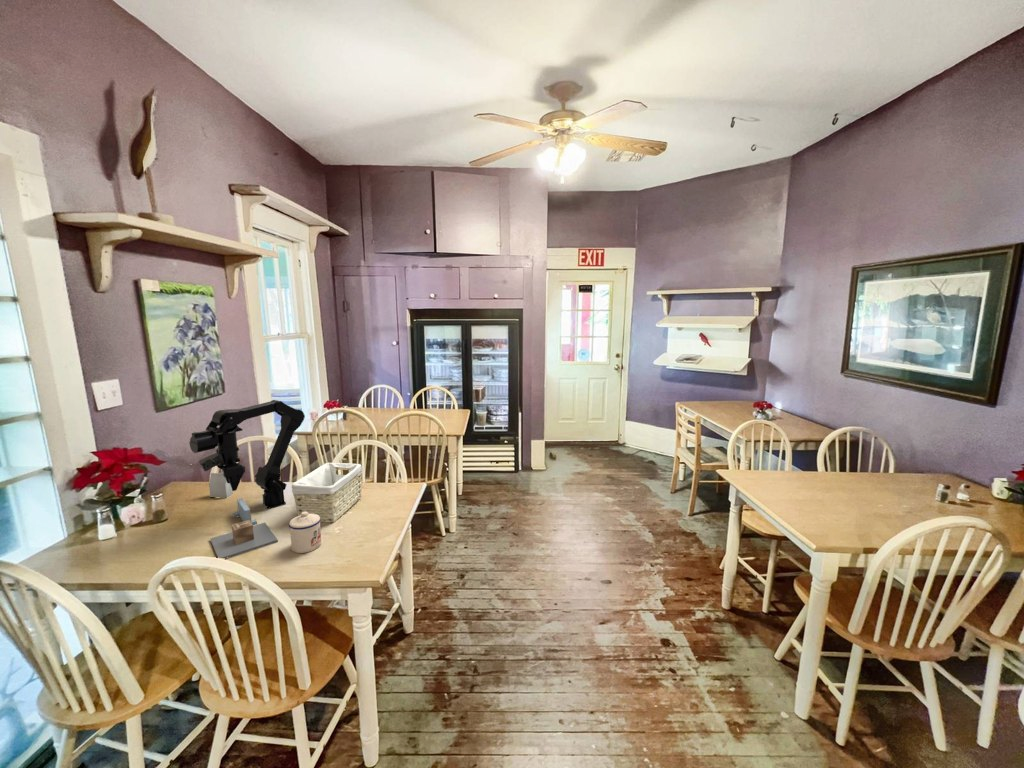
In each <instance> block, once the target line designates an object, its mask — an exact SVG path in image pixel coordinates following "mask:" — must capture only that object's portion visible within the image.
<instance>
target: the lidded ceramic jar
mask: <svg viewBox="0 0 1024 768" xmlns="http://www.w3.org/2000/svg"><path fill="white" fill-rule="evenodd" d="M320 520H321V518H320V516H319V515H317V514H309V513H308V512H306V511H305V512H302V513H301V515H300V516H298V515H297V516H295V517H293V518H292V519H291V520H290V521H289V524H288V526H289V530H290V543H291V544H290V545H291V551H292V552H294V553H296V554H305V553H310V552H312V551H313V552H314V551H315V550H317V549H318V548H320V546H321V544H322V533H321V532H322V531H321V522H320Z"/></svg>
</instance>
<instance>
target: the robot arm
mask: <svg viewBox="0 0 1024 768" xmlns="http://www.w3.org/2000/svg"><path fill="white" fill-rule="evenodd" d="M272 413H276V414H277V415H279V416H281V418H280V430H279V433H278V435H277V438H276V439H275V443H274V445H273V447H272V451H271V453H270V455H269V457H268V460H267V462H266V464H265V465H264V466H259V467H258V469H257V472H256V474H255V475H254V478H255V484H256V485H257V486H259V487H260V488H261V489H262V490H263V494H262V504H263V506H265V507H266V509H271V508H272V509H273V508H275V507H280V506H283V505H286V503H287V502H286V500H285V495H284V494H285V493H284V492H285V490H286V487H287V483H285V482H284V481H281V477H282V472H281V470H282V469H281V465H282V463H283V460H284V459H285V456H286V454H287V451H288V448H289V446H290V443H291V441H292V438H293V435H294V433H295V432H296V430H298V429H299V428H300V427H301V425H302V424H303V422H304V420H305V418H306V416H305V413H304V411H303V410H301V409H297V408H293V407H292V406H290V405H289V404H286V403H284V402H283V401H281V400H277V399H272V400H271V401H270V400H269V401H266V402H263V403H259V404H254V405H251V406H246V407H243V408H236V409H235V408H233V409H232V408H230V409H218V410H217V411H215V412H214V413H213V415H212V419H211V420H210V422H209V424H208V425H207V427H206V428H205V430H202V431H198V432H197V431H196V432H195V431H194V432H191V437H190V439H189V448H190V450H191V451H192V453H194V454H197V453H203V452H206V451H210V450H216V451H215V453H212V454H210V455H208V456H206V457H203V458H201V459H200V460H199V461H198V463H199V465H200V466H201V468H202V470H203V471H204V472H208V471H209V470H210V469H213V468H214V467H217V468H218V469H220V470H221V473H223V476H224V477H225V478H226V481H227V483H230V485H231V488H232V491H233V492H234V491H235V492H236V491H237V489H238V487H239V484H240V482H241V480H242V478H243V476H244V474H245V473H246V466H245V465H244V464H243V463H241V459H240V457H239V451H240V448H239V446H238V439H237V433H238V432H241V431H243V428H241V427H239V426H238V425H240V424H241V423H243V422H244V421H246V420H249V419H253V418H257V417H259V416H263V415H267V414H272ZM215 448H216V449H215Z"/></svg>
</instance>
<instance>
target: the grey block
mask: <svg viewBox="0 0 1024 768" xmlns="http://www.w3.org/2000/svg"><path fill="white" fill-rule="evenodd" d="M208 487H209V497H220V498H219V499H228V498H230V497H232V496H233V495H232V494H234V491H232V488H231V485H230V483H227V481H226V478H225V477H224V476H223V473H222V472H211V473H210V479H209V483H208ZM229 496H230V497H229ZM227 497H228V498H227Z"/></svg>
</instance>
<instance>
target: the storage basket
mask: <svg viewBox="0 0 1024 768" xmlns="http://www.w3.org/2000/svg"><path fill="white" fill-rule="evenodd" d="M362 466H363V465H361V463H347V462H346V463H343V462H325V463H324V464H322V465H321V466H319V467H317V468H316V469H314V470H313V471H311V472H309V473H308V474H306V475H305V476H303V477H301V478H300V479H298V480H296V481H295V482H293V483H292V484H291V489H292V490H291V493H292V495H293V498H294V503H295V506H296V507H295V508H296V512H297V516H300V515H301V513H302V512H305V511H306V512H308V513H309V514H317V515H319V516H320V518H321V520H320V523H335V522H336V521H337V520H339V518H340V517H342V516H343V515H344V514H345V513H346V512H347V511H348V510H349V509H351V508H352V506H353V505H355V504H356V503H357V502H358V501H359V500H360V499H361V498H362V497H363V495H362V477H363V476H362V475H363V467H362ZM337 470H339V471H341V470H342V471H349V472H348V473H347V474H338V473H337Z"/></svg>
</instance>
